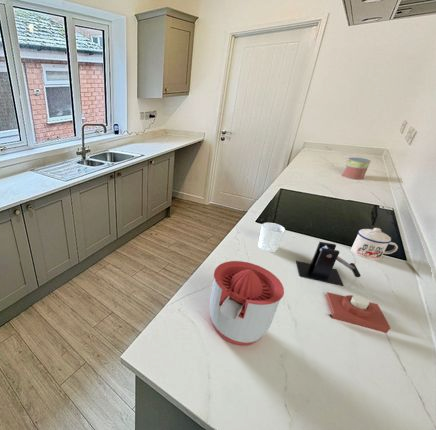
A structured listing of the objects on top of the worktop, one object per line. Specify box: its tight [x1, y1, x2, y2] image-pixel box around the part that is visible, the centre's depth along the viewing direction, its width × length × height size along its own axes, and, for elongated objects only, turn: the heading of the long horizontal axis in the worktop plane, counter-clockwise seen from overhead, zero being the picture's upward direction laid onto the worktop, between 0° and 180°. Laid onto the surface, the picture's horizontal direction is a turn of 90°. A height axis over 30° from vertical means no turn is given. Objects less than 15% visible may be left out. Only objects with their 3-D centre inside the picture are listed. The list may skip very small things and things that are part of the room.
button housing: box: [325, 291, 391, 334], centre depth 74 cm, size 12×9×4 cm
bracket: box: [295, 241, 345, 287], centre depth 88 cm, size 12×9×12 cm
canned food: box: [342, 157, 372, 180], centre depth 178 cm, size 11×11×12 cm
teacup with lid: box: [350, 227, 399, 261], centre depth 97 cm, size 12×9×12 cm
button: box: [350, 295, 370, 309], centre depth 73 cm, size 4×4×2 cm
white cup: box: [257, 222, 286, 253], centre depth 103 cm, size 8×8×10 cm
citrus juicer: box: [209, 260, 285, 347], centre depth 67 cm, size 16×17×20 cm
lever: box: [320, 245, 362, 278], centre depth 85 cm, size 12×6×2 cm
